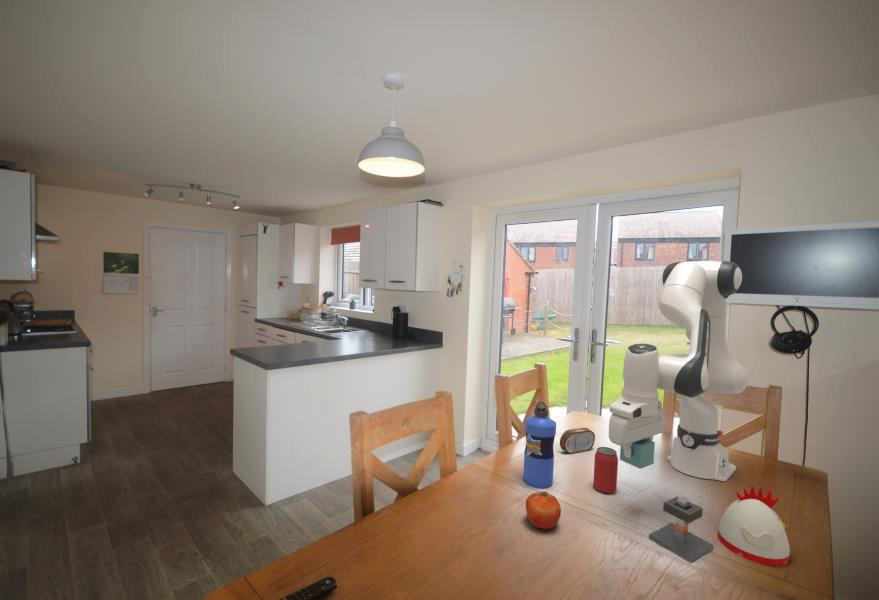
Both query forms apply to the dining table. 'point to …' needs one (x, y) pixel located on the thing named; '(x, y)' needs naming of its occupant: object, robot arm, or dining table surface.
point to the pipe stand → (681, 537)
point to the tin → (577, 440)
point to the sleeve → (640, 453)
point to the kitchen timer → (755, 529)
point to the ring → (682, 510)
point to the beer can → (605, 470)
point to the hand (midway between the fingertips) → (636, 453)
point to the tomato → (543, 510)
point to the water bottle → (539, 448)
